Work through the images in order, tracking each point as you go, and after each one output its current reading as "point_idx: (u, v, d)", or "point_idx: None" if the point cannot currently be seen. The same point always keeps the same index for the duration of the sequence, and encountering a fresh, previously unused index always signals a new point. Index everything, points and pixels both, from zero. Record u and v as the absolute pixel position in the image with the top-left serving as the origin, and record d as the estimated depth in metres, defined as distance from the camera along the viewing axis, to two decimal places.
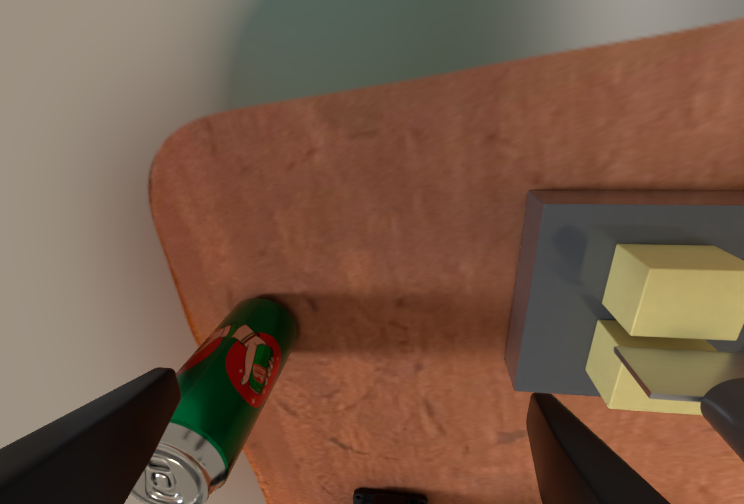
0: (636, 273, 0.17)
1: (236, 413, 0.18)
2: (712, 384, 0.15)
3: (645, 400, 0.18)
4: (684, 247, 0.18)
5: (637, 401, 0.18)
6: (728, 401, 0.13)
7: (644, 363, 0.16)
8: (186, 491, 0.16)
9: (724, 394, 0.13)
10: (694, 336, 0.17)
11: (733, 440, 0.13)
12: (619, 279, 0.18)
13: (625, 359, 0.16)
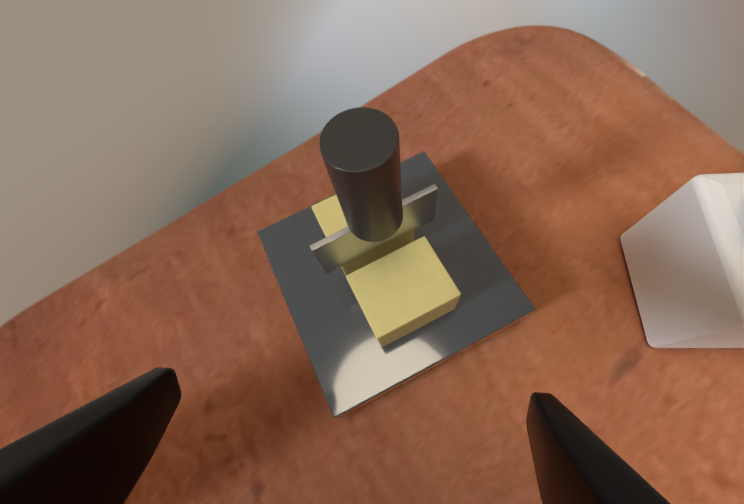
0: None
1: None
2: None
3: (399, 309, 0.17)
4: None
5: (394, 314, 0.17)
6: None
7: None
8: None
9: None
10: None
11: (345, 214, 0.14)
12: None
13: (320, 262, 0.17)
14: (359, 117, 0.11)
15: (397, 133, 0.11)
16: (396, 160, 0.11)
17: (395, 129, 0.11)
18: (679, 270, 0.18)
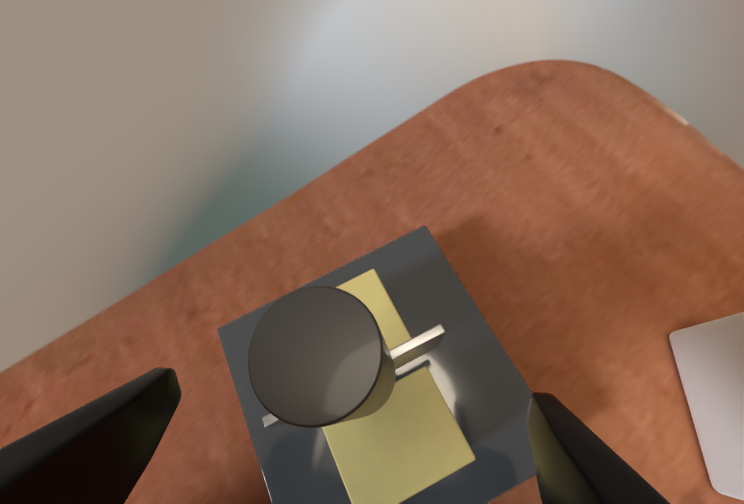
0: None
1: None
2: None
3: (391, 479, 0.13)
4: None
5: (384, 487, 0.13)
6: None
7: None
8: None
9: None
10: None
11: None
12: None
13: None
14: (317, 307, 0.07)
15: (380, 346, 0.06)
16: (379, 383, 0.07)
17: (378, 337, 0.06)
18: None
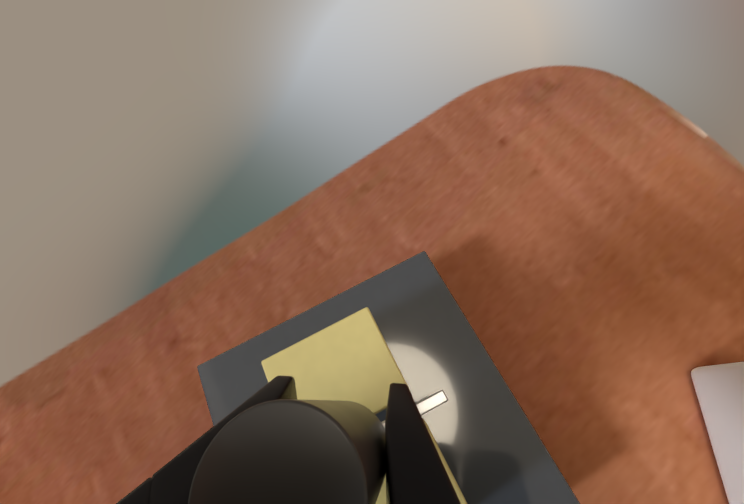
0: None
1: None
2: None
3: None
4: None
5: None
6: None
7: None
8: None
9: None
10: None
11: None
12: None
13: None
14: (282, 432, 0.05)
15: (364, 495, 0.05)
16: None
17: (361, 480, 0.05)
18: None
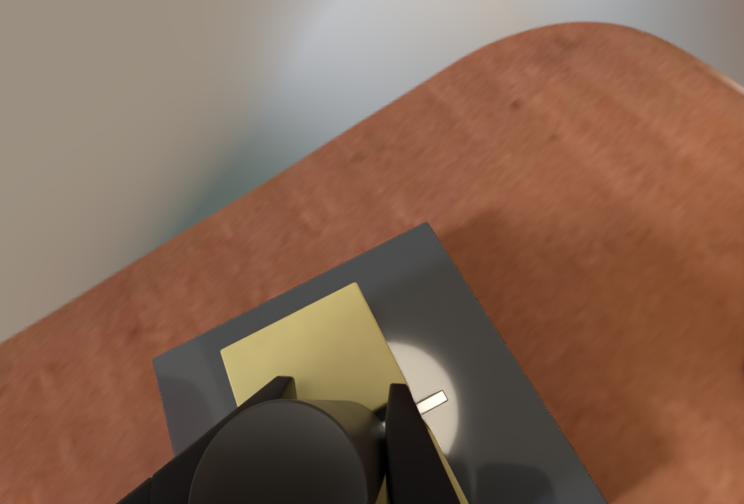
0: None
1: None
2: None
3: None
4: None
5: None
6: None
7: None
8: None
9: None
10: None
11: None
12: None
13: None
14: (282, 432, 0.05)
15: (364, 495, 0.05)
16: None
17: (361, 480, 0.05)
18: None
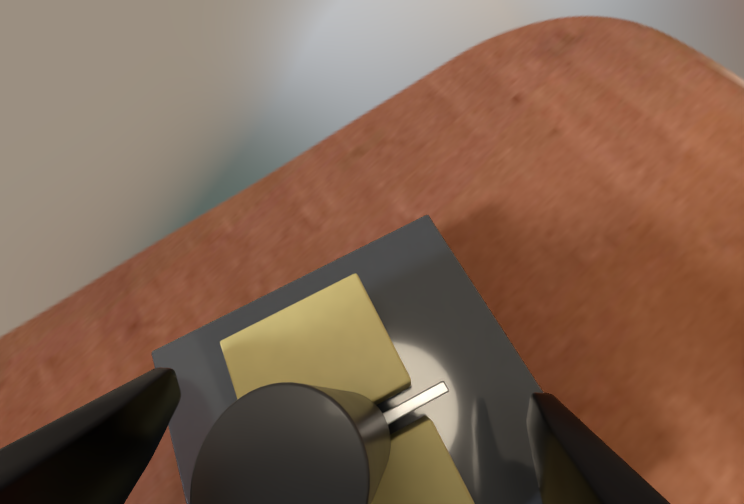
0: None
1: None
2: None
3: None
4: None
5: None
6: None
7: None
8: None
9: None
10: None
11: None
12: None
13: None
14: (284, 414, 0.05)
15: (366, 475, 0.05)
16: None
17: (363, 461, 0.05)
18: None
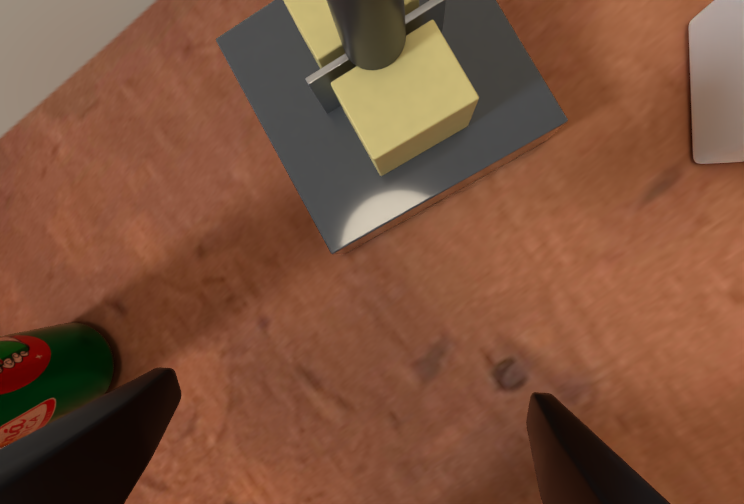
0: (289, 11, 0.15)
1: None
2: None
3: (400, 121, 0.14)
4: None
5: (393, 129, 0.14)
6: None
7: None
8: None
9: None
10: None
11: (340, 34, 0.12)
12: None
13: (318, 99, 0.16)
14: None
15: None
16: None
17: None
18: None
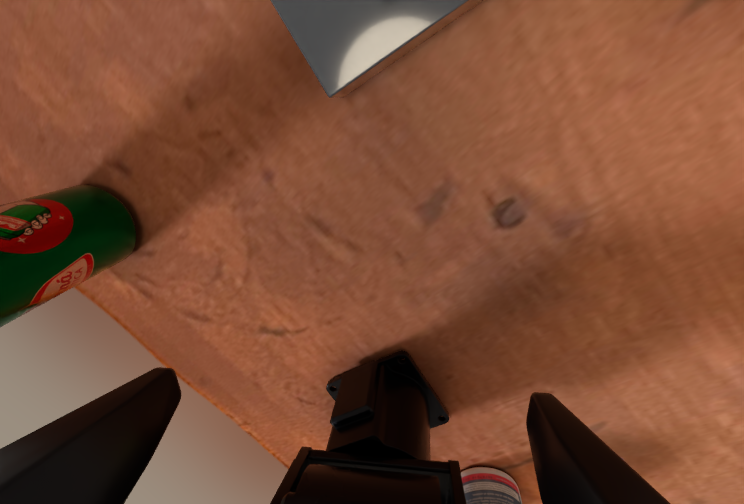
0: None
1: None
2: None
3: None
4: None
5: None
6: None
7: None
8: None
9: None
10: None
11: None
12: None
13: None
14: None
15: None
16: None
17: None
18: None
